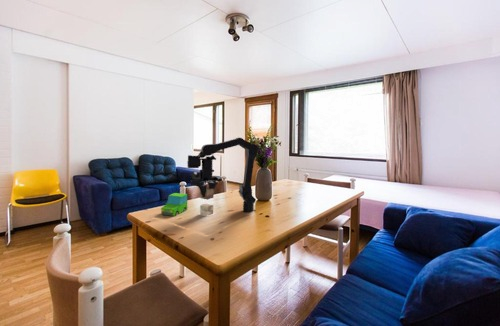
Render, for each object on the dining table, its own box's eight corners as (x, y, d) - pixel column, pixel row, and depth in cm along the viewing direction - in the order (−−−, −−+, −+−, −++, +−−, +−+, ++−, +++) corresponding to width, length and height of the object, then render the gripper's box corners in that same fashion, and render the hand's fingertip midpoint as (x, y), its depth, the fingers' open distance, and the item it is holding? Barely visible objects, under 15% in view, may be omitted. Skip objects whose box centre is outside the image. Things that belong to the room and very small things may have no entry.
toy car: (158, 216, 127) (158, 198, 126) (173, 209, 139) (173, 192, 138) (175, 218, 124) (175, 200, 123) (189, 211, 136) (188, 194, 135)
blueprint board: (207, 209, 139) (207, 208, 139) (220, 213, 134) (220, 211, 134) (189, 216, 128) (189, 214, 128) (202, 220, 122) (202, 218, 122)
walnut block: (213, 197, 130) (213, 188, 129) (207, 199, 126) (207, 190, 125) (206, 196, 133) (206, 187, 132) (200, 198, 128) (200, 189, 128)
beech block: (206, 211, 134) (206, 203, 133) (213, 213, 131) (213, 204, 130) (200, 214, 129) (200, 205, 129) (206, 215, 127) (206, 206, 126)
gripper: (208, 165, 139) (208, 191, 141) (183, 168, 124) (183, 197, 126) (222, 166, 133) (222, 193, 135) (198, 170, 118) (198, 200, 120)
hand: (207, 196), depth 129 cm, fingers closed on walnut block, 5 cm apart
